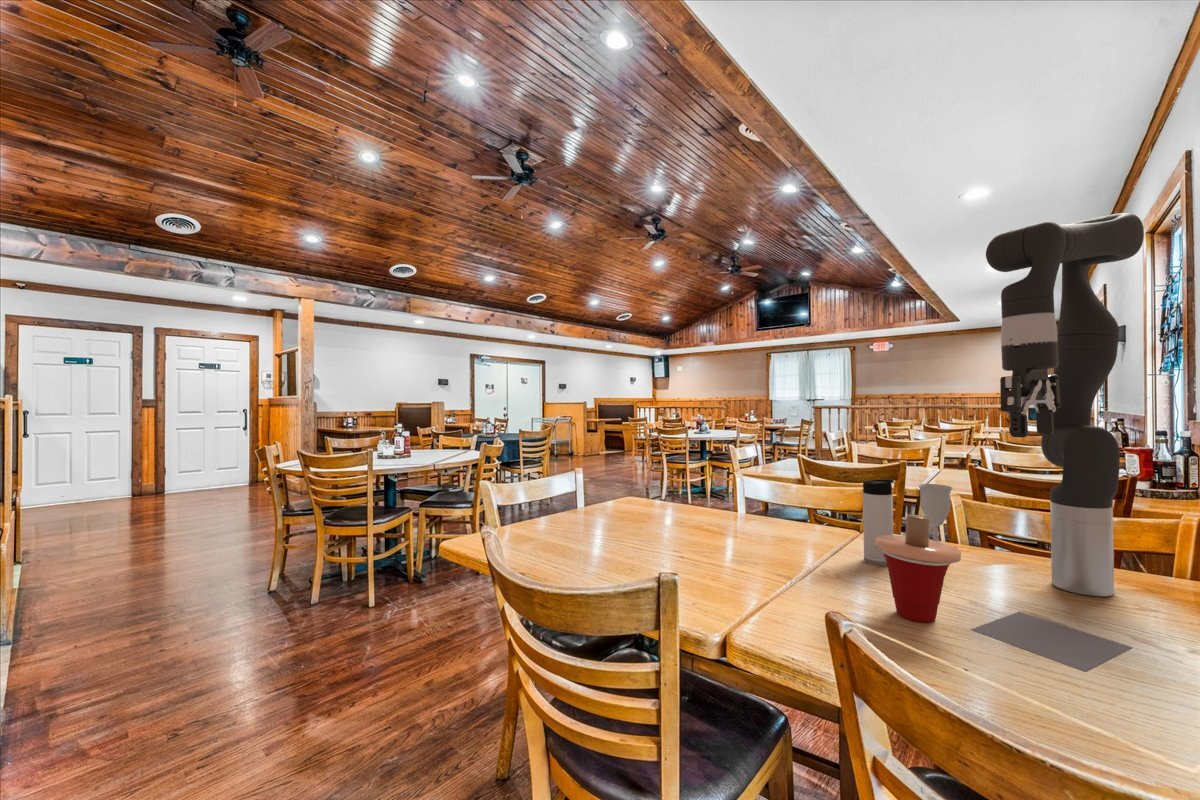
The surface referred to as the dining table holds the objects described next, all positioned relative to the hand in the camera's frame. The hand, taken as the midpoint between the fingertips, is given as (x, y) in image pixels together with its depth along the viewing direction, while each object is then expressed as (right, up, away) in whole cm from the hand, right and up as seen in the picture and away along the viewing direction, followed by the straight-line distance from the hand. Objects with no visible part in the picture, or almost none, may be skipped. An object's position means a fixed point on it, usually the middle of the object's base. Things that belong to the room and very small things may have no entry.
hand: (1032, 435), depth 88 cm
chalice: (+5, -33, +33) cm, 47 cm away
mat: (-3, -33, -6) cm, 33 cm away
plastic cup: (-18, -33, +3) cm, 38 cm away
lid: (-18, -21, +3) cm, 28 cm away
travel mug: (-8, -33, +33) cm, 48 cm away
